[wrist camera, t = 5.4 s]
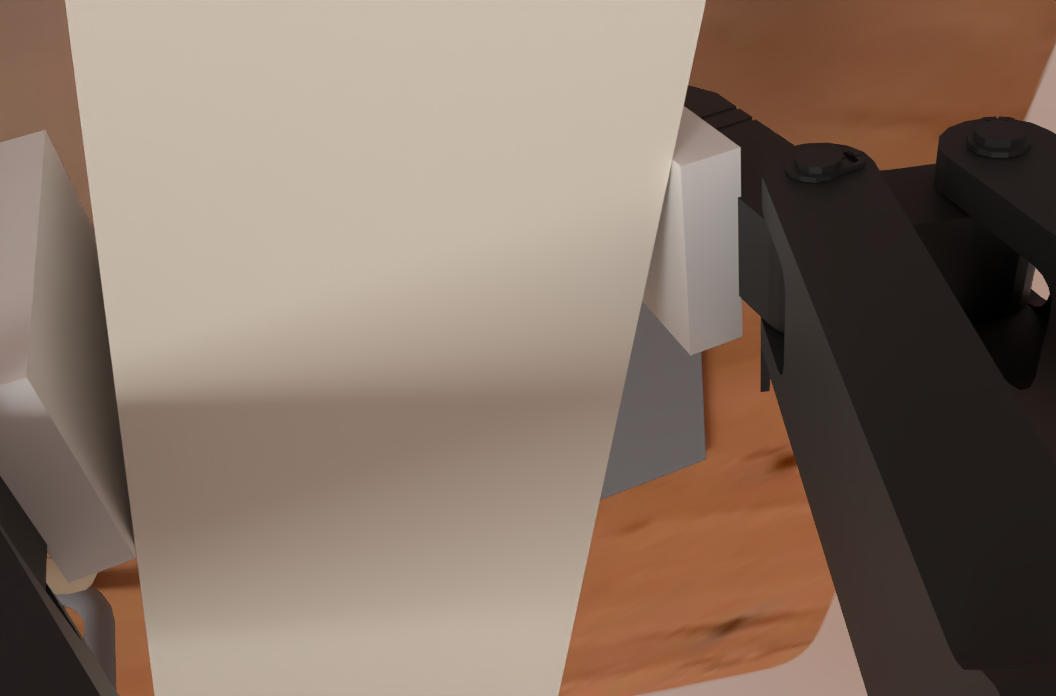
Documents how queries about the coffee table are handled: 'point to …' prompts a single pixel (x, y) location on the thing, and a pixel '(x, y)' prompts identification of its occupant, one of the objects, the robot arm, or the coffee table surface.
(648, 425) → the rubber mat
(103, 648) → the newton's cradle
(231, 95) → the cream block
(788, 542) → the coffee table surface
